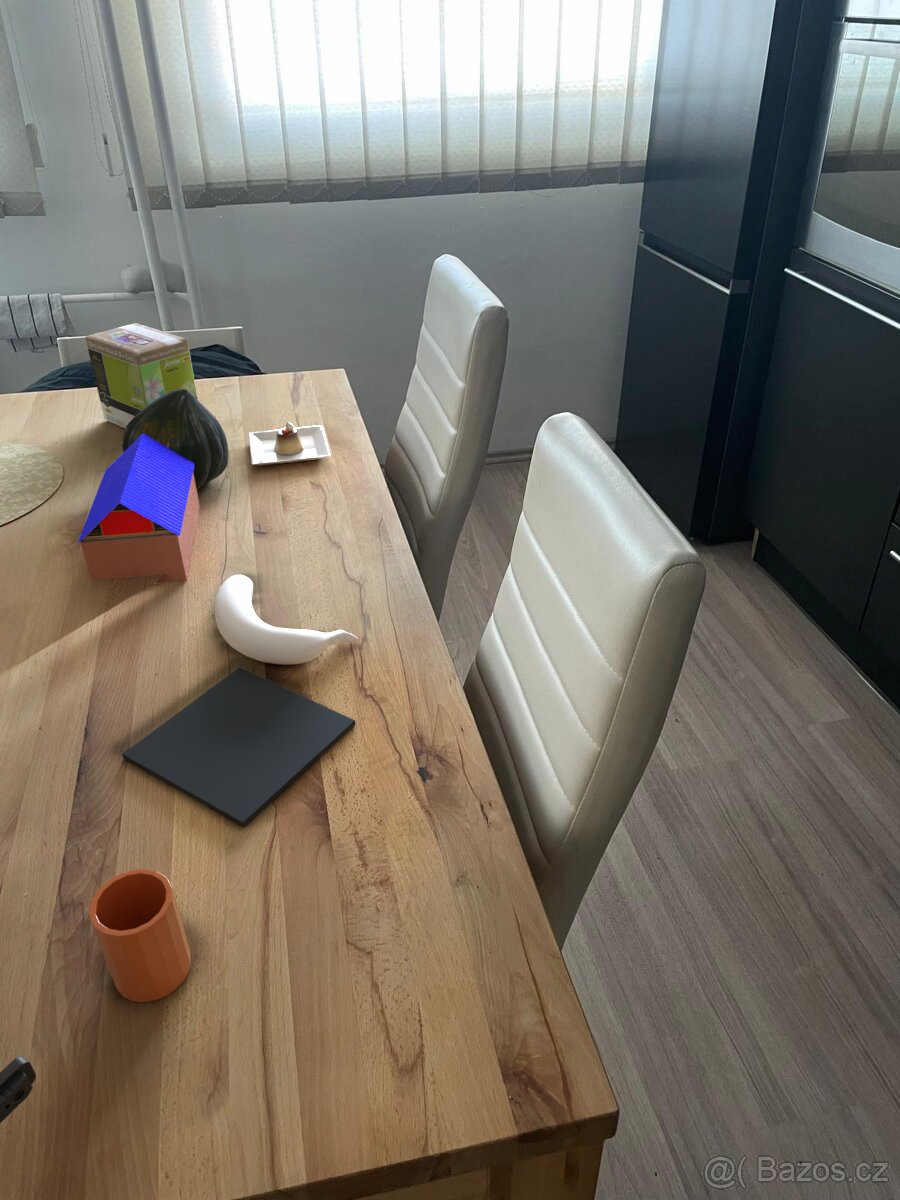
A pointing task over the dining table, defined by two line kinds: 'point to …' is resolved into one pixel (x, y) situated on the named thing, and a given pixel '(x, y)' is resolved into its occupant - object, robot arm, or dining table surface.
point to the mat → (239, 744)
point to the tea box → (137, 369)
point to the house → (143, 515)
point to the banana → (266, 629)
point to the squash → (183, 432)
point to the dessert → (288, 445)
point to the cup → (141, 934)
